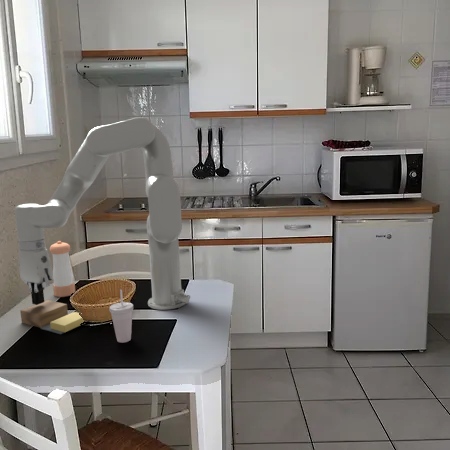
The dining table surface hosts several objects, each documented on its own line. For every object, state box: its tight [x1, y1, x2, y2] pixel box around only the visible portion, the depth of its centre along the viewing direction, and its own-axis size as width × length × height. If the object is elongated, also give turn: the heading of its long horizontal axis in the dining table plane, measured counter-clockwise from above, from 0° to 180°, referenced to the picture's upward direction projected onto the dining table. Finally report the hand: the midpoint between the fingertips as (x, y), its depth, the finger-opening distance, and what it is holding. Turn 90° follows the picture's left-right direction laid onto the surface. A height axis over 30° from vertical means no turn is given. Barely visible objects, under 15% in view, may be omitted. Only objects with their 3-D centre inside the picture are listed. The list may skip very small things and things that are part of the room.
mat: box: [40, 324, 65, 335], centre depth 147 cm, size 9×11×1 cm
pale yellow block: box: [50, 311, 84, 333], centre depth 146 cm, size 9×6×2 cm, turn 149°
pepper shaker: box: [49, 240, 76, 298], centre depth 174 cm, size 7×7×19 cm
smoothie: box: [108, 289, 134, 344], centre depth 134 cm, size 6×6×14 cm
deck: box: [19, 299, 69, 329], centre depth 151 cm, size 9×10×4 cm
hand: (38, 303), depth 152 cm, fingers closed
